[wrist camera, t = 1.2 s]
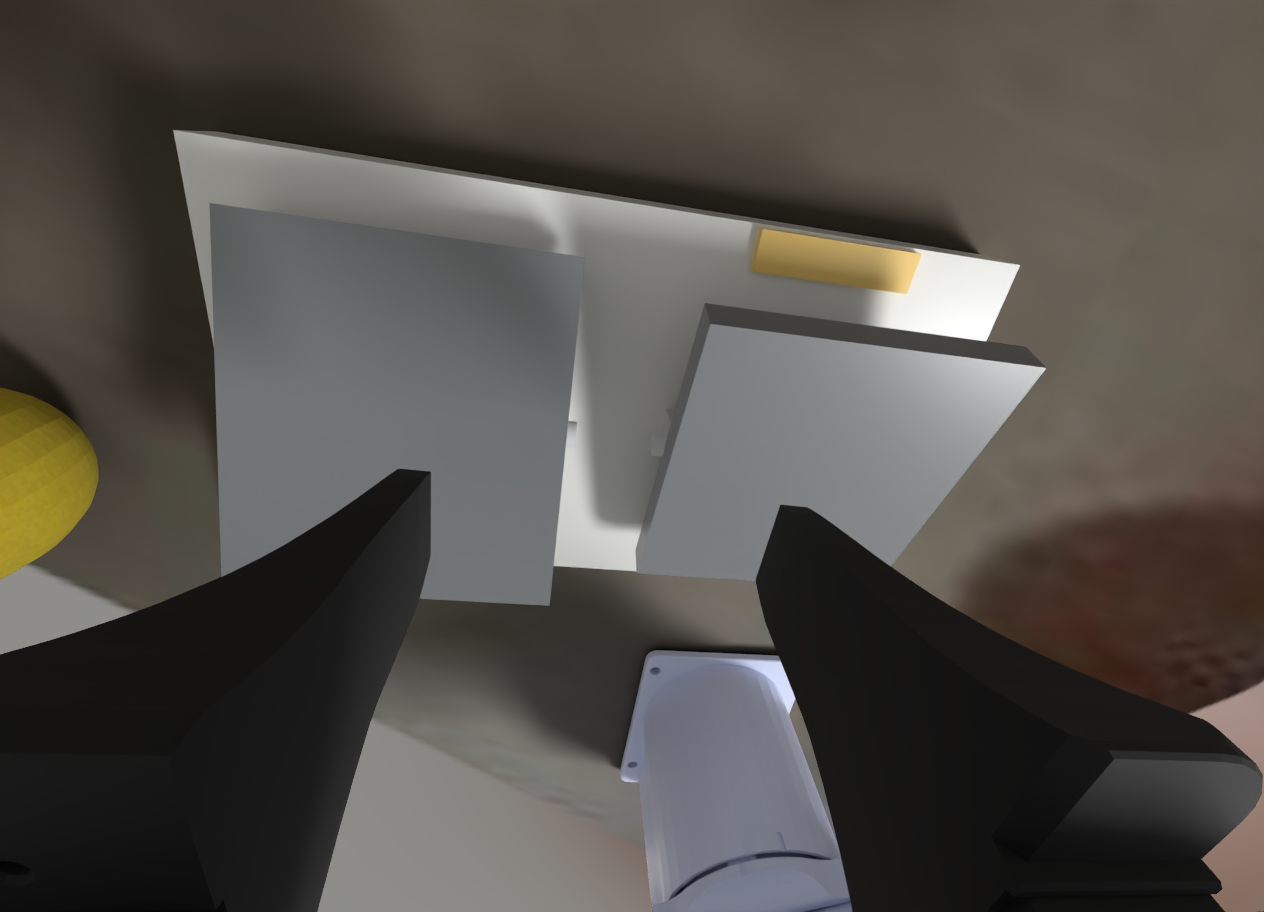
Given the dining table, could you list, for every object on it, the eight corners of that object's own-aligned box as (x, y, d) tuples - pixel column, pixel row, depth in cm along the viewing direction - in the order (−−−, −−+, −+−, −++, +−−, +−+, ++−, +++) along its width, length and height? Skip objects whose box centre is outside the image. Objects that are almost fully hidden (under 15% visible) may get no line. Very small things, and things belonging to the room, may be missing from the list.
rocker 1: (559, 581, 19) (559, 606, 17) (242, 561, 18) (210, 587, 16) (592, 264, 17) (596, 258, 15) (234, 213, 15) (195, 200, 14)
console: (855, 556, 26) (890, 607, 23) (276, 514, 22) (233, 568, 19) (980, 254, 20) (1047, 272, 17) (216, 131, 16) (141, 128, 13)
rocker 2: (865, 552, 23) (880, 588, 22) (626, 534, 22) (628, 572, 20) (1021, 334, 16) (1056, 369, 15) (689, 288, 15) (698, 322, 14)
